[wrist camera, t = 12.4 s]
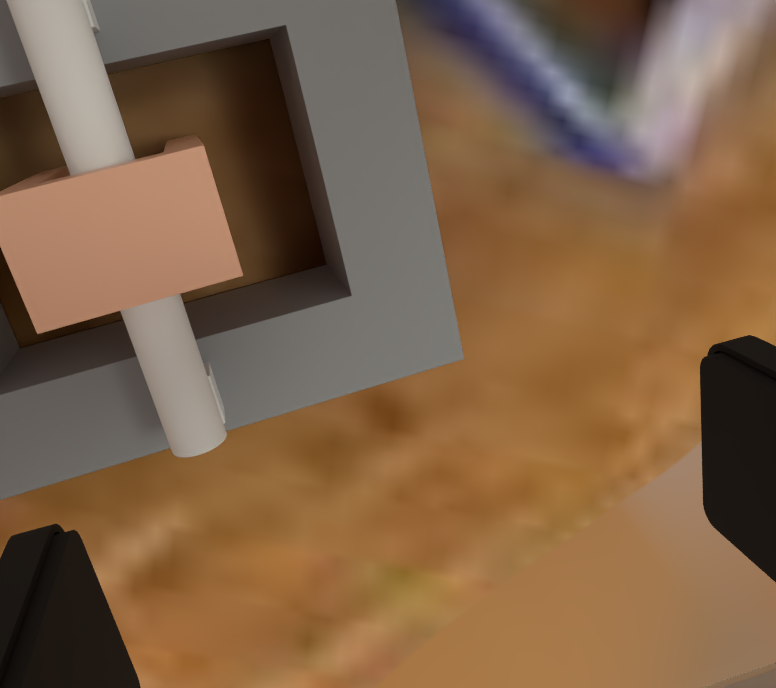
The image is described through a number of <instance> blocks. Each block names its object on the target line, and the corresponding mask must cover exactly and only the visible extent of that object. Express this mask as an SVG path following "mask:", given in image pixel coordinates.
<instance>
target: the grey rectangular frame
mask: <svg viewBox="0 0 776 688" xmlns="http://www.w3.org/2000/svg"><path fill="white" fill-rule="evenodd" d="M265 39H270V42H271V46H272V50H273V54H274V58H275V62H276V66H277V70H278V74H279V78H280V82H281V86H282V90H283V94H284V98H285V102H286V106H287V110H288V114H289V118H290V122H291V126H292V129H293V133H294V137H295V141H296V145H297V149H298V153H299V157H300V161H301V165H302V169H303V173H304V177H305V181H306V185H307V189H308V193H309V197H310V201H311V205H312V209H313V213H314V217H315V221H316V225H317V229H318V233H319V237H320V241H321V244H322V248H323V252H324V256H325V260H326V264H327V265H323V266H319V267H316V268H312V269H308V270H305V271H301V272H297V273H294V274H290V275H286V276H283V277H279V278H275V279H272V280H268V281H264V282H261V283H257V284H253V285H250V286H246V287H242V288H239V289H235V290H232V291H228V292H224V293H221V294H217V295H213V296H210V297H206V298H202V299H199V300H195V301H191V302H188V303H184V304H183V301H182V298H181V295H180V294H177V295H174V296H170V297H167V298H163V299H160V300H156V301H153V302H149V303H145V304H142V305H138V306H135V307H131V308H128V309H124V310H121V311H120V312H121V314H122V317H123V320H122V321H118V322H114V323H111V324H107V325H104V326H100V327H96V328H93V329H89V330H85V331H82V332H78V333H74V334H71V335H67V336H63V337H60V338H56V339H52V340H49V341H45V342H41V343H38V344H34V345H30V346H27V347H23V348H20V347H19V345H18V343H17V340H16V338H15V336H14V333H13V331H12V329H11V326H10V324H9V322H8V319H7V317H6V315H5V312H4V310H3V308H2V305H1V303H0V500H2V499H5V498H8V497H11V496H15V495H18V494H21V493H25V492H28V491H31V490H35V489H38V488H41V487H44V486H48V485H51V484H54V483H58V482H61V481H64V480H67V479H71V478H74V477H77V476H81V475H84V474H87V473H90V472H94V471H97V470H100V469H104V468H107V467H110V466H113V465H117V464H120V463H123V462H127V461H130V460H133V459H136V458H140V457H143V456H146V455H150V454H153V453H156V452H159V451H163V450H166V449H169V448H171V451H172V453H173V455H175V456H177V457H193V456H197V455H200V454H203V453H206V452H208V451H210V450H212V449H214V448H216V447H217V446H219V445H220V444H221V443H222V442H223V441H224V440H225V438H226V436H227V433H226V431H229V430H232V429H235V428H238V427H242V426H245V425H248V424H252V423H255V422H258V421H261V420H265V419H268V418H271V417H275V416H278V415H281V414H284V413H288V412H291V411H294V410H298V409H301V408H304V407H308V406H311V405H314V404H317V403H321V402H324V401H327V400H331V399H334V398H337V397H340V396H344V395H347V394H350V393H354V392H357V391H360V390H363V389H367V388H370V387H373V386H377V385H380V384H383V383H386V382H390V381H393V380H396V379H400V378H403V377H406V376H409V375H413V374H416V373H419V372H423V371H426V370H429V369H432V368H436V367H439V366H442V365H446V364H449V363H452V362H456V361H459V360H462V359H464V356H463V350H462V345H461V340H460V335H459V330H458V324H457V319H456V314H455V309H454V303H453V298H452V293H451V288H450V282H449V277H448V272H447V267H446V261H445V256H444V251H443V246H442V240H441V235H440V230H439V225H438V219H437V214H436V209H435V204H434V198H433V193H432V188H431V183H430V177H429V172H428V167H427V162H426V157H425V151H424V146H423V141H422V136H421V130H420V125H419V120H418V115H417V109H416V104H415V99H414V94H413V88H412V83H411V78H410V73H409V67H408V62H407V57H406V52H405V46H404V41H403V36H402V31H401V25H400V20H399V15H398V10H397V5H396V0H0V98H1V97H6V96H10V95H15V94H19V93H24V92H29V91H33V90H38V89H39V91H40V94H41V96H42V99H43V102H44V104H45V107H46V110H47V113H48V115H49V118H50V121H51V123H52V126H53V129H54V132H55V134H56V137H57V140H58V143H59V145H60V148H61V151H62V153H63V156H64V159H65V162H66V164H67V167H68V170H69V173H70V175H74V174H78V173H82V172H87V171H91V170H95V169H99V168H103V167H107V166H111V165H115V164H119V163H123V162H127V161H131V160H135V157H134V154H133V151H132V147H131V144H130V141H129V138H128V135H127V132H126V129H125V126H124V123H123V120H122V117H121V114H120V111H119V108H118V105H117V102H116V99H115V96H114V93H113V90H112V87H111V84H110V81H109V78H108V75H107V74H110V73H115V72H119V71H124V70H129V69H133V68H138V67H142V66H147V65H151V64H156V63H160V62H165V61H169V60H174V59H179V58H183V57H188V56H192V55H197V54H201V53H206V52H210V51H215V50H220V49H224V48H229V47H233V46H238V45H242V44H247V43H251V42H256V41H260V40H265Z"/></svg>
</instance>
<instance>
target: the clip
mask: <svg viewBox="0 0 776 688" xmlns="http://www.w3.org/2000/svg"><path fill="white" fill-rule="evenodd" d="M0 247H1V249H2V252H3V254H4V256H5V259H6V261H7V264H8V266H9V268H10V271H11V273H12V275H13V278H14V280H15V282H16V285H17V287H18V290H19V292H20V294H21V297H22V299H23V301H24V304H25V306H26V308H27V311H28V313H29V316H30V318H31V320H32V323H33V325H34V327H35V330H36V332H37V334H40V333H43V332H47V331H50V330H54V329H57V328H61V327H64V326H68V325H71V324H75V323H78V322H82V321H85V320H89V319H93V318H96V317H100V316H103V315H107V314H110V313H114V312H117V311H121V310H124V309H128V308H131V307H135V306H138V305H142V304H145V303H149V302H153V301H156V300H160V299H163V298H167V297H170V296H174V295H177V294H181V293H184V292H188V291H191V290H195V289H198V288H202V287H206V286H209V285H213V284H216V283H220V282H223V281H227V280H230V279H234V278H237V277H241V276H243V273H242V270H241V266H240V263H239V260H238V256H237V253H236V250H235V246H234V243H233V240H232V237H231V233H230V230H229V227H228V223H227V220H226V217H225V214H224V210H223V207H222V204H221V200H220V197H219V194H218V191H217V187H216V184H215V181H214V177H213V174H212V171H211V167H210V164H209V161H208V158H207V154H206V151H205V148H204V145H203V143H202V142H201V141H200V139H199V138H198V136H197V135H196V134H193V135H189V136H184V137H180V138H176V139H172V140H168V141H166V144H165V148H164V152H163V153H159V154H155V155H151V156H147V157H143V158H139V159H135V160H131V161H127V162H123V163H119V164H115V165H111V166H107V167H103V168H99V169H95V170H91V171H87V172H82V173H78V174H74V175H70V173H69V170H68V167H67V165H66V166H62V167H58V168H54V169H50V170H46V171H42V172H39V173H37V174H35V175H33V176H31V177H29V178H26V179H24V180H22V181H20V182H18V183H16V184H14V185H12V186H10V187H8V188H6V189H4V190H2V191H0Z"/></svg>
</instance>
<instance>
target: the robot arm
mask: <svg viewBox="0 0 776 688" xmlns="http://www.w3.org/2000/svg"><path fill="white" fill-rule="evenodd" d="M700 388H701V431H702V475H703V505H704V510H705V513H706V516H707V517H708V520H709V521H710V523H711V524H712V526H713V527H714V528H715V529H716V530H717V531H719V532H720V533H721V534H722V535H723V536H724V537H725V538H726V539H728V540H729V541H730V542H731V543H732V544H733V545H734V546H735V547H737V548H738V549H739V550H740V551H741V552H742V553H743V554H744V555H746V556H747V557H748V558H749V559H750V560H751V561H752V562H753V563H755V564H756V565H757V566H758V567H759V568H760V569H761V570H762V571H764V572H765V573H766V574H767V575H768V576H769V577H770V578H771V579H772V580H774V581H775V582H776V346H774V345H772V344H770V343H768V342H766V341H764V340H761V339H759V338H757V337H755V336H751V335H748V336H744V337H740V338H737V339H733V340H729V341H726V342H722V343H718V344H715V345H713V346H712V347H711V348H710V349H709V352H708V356H706V357H704V358H703V359H702V361H701V364H700ZM0 688H140V684H139V680H138V677H137V674H136V672H135V669H134V667H133V664H132V662H131V659H130V657H129V654H128V652H127V650H126V647H125V645H124V642H123V640H122V637H121V635H120V632H119V630H118V627H117V625H116V622H115V620H114V618H113V615H112V613H111V610H110V608H109V605H108V603H107V600H106V598H105V595H104V593H103V591H102V588H101V586H100V583H99V581H98V578H97V576H96V573H95V571H94V568H93V566H92V564H91V561H90V559H89V556H88V554H87V551H86V549H85V546H84V544H83V541H82V539H81V537H80V535H79V534H78V532H77V531H75V530H71V531H68V532H64V530H63V529H62V528H61V526H60V525H58V524H53V525H49V526H46V527H42V528H38V529H35V530H31V531H27V532H24V533H20V534H16V535H13V536H11V538H10V539H9V540H8V542H7V545H6V547H5V549H4V551H3V554H2V556H1V558H0ZM703 688H776V663H773V664H770V665H767V666H764V667H761V668H758V669H755V670H752V671H749V672H747V673H743V674H740V675H737V676H735V677H732V678H729V679H726V680H723V681H720V682H717V683H714V684H711V685H708V686H705V687H703Z"/></svg>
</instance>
